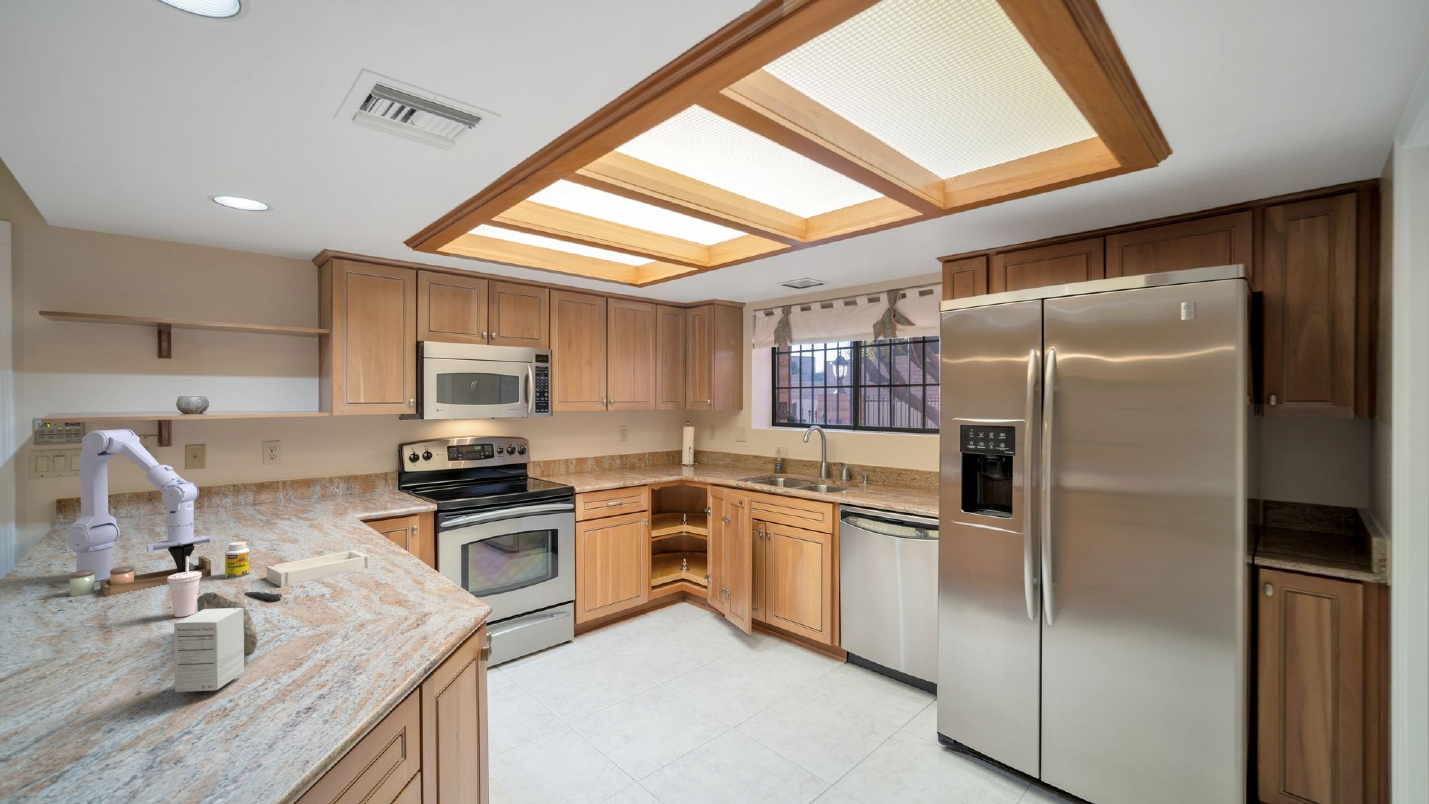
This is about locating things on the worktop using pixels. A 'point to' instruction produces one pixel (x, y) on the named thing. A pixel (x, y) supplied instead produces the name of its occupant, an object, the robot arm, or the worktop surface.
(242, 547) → the supplement bottle
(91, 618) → the worktop surface
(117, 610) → the worktop surface
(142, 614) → the worktop surface
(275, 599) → the dark grey elongated piece
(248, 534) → the worktop surface
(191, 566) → the pusher
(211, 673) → the supplement box
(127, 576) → the jar stock
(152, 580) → the lane
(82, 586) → the jar
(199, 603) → the elongated rock
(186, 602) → the smoothie
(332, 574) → the utensil tray
